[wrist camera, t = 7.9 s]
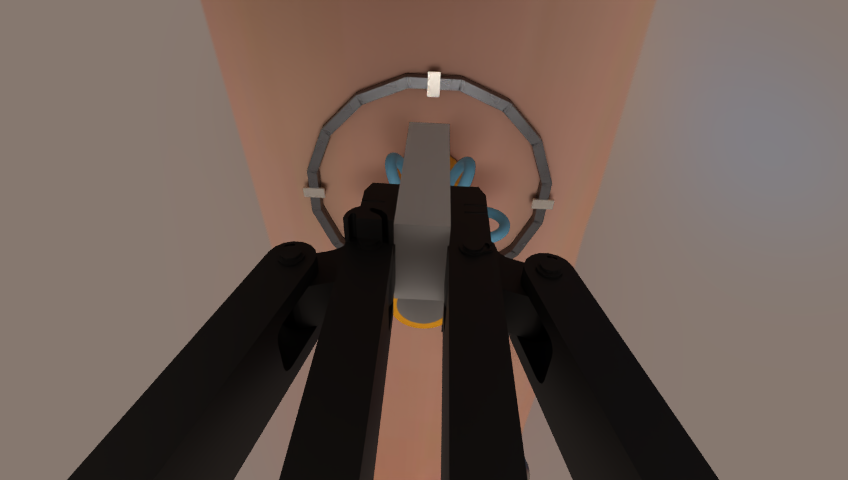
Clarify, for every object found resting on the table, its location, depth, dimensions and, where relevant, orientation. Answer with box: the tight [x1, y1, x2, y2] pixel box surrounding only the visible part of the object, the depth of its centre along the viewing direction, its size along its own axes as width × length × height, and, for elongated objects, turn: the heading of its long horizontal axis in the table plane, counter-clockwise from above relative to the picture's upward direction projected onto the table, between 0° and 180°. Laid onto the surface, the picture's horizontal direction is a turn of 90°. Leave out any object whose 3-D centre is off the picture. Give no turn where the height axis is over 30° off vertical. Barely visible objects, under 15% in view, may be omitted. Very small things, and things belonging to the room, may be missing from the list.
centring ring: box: [303, 71, 554, 259], centre depth 40 cm, size 21×21×1 cm
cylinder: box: [385, 153, 510, 328], centre depth 34 cm, size 12×10×15 cm
